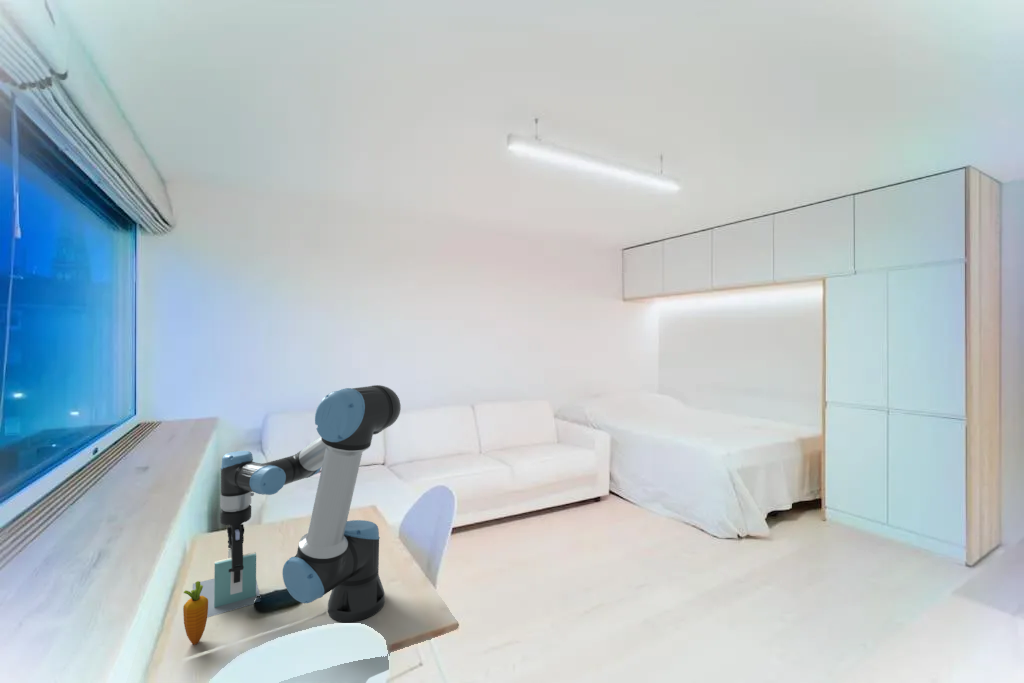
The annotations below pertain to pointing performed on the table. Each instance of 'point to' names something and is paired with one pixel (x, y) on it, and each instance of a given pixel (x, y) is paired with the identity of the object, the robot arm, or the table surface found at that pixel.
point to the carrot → (195, 614)
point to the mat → (209, 594)
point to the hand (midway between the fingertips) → (234, 581)
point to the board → (224, 580)
